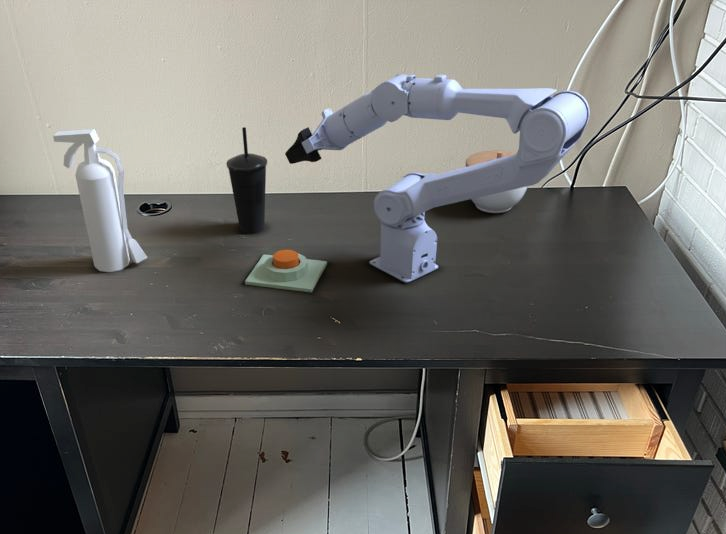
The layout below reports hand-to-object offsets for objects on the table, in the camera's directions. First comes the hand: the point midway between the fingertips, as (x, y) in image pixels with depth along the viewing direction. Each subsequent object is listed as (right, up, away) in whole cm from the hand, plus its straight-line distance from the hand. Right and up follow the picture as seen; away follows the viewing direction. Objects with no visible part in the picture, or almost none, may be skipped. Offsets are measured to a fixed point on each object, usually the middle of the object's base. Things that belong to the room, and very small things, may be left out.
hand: (301, 151), depth 131 cm
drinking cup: (-9, -12, +14) cm, 20 cm away
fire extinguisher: (-34, -20, +4) cm, 40 cm away
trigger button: (-3, -20, -3) cm, 21 cm away
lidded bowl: (+39, -6, +17) cm, 43 cm away
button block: (-3, -22, -2) cm, 22 cm away
